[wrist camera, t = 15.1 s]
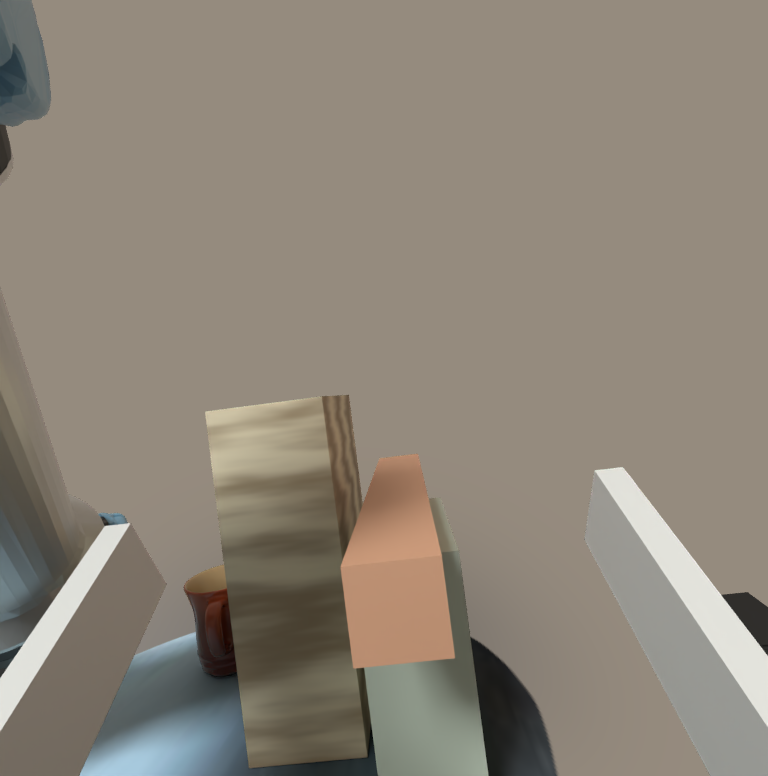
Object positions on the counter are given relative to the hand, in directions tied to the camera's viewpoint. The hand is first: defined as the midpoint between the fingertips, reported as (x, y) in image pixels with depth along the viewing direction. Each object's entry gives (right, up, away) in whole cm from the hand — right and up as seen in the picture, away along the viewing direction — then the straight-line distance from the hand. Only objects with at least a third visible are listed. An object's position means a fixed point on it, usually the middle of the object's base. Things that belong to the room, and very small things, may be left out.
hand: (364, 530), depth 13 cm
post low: (+5, -26, +22) cm, 34 cm away
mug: (-17, -29, +38) cm, 51 cm away
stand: (-5, -27, +32) cm, 43 cm away
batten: (+2, -7, +18) cm, 20 cm away
